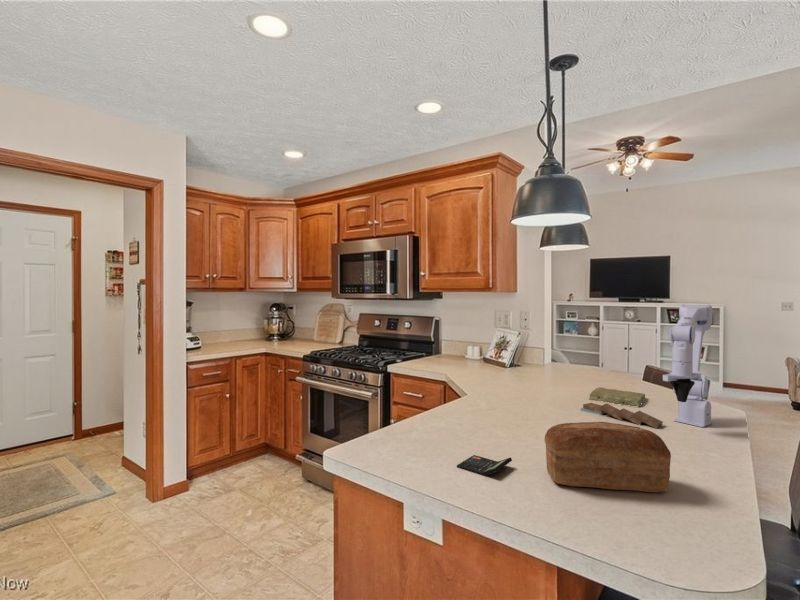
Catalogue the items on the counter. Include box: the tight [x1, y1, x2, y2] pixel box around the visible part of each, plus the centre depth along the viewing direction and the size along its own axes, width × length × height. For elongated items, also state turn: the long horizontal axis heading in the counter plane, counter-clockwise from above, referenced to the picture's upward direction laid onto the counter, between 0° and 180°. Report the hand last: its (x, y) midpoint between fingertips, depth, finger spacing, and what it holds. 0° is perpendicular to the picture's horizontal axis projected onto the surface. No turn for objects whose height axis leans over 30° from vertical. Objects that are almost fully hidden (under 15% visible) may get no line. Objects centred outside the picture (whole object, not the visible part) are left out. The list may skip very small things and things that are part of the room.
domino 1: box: [582, 402, 607, 414], centre depth 164 cm, size 2×5×8 cm
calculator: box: [456, 454, 513, 476], centre depth 111 cm, size 9×12×3 cm
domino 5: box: [633, 410, 664, 429], centre depth 148 cm, size 2×5×8 cm
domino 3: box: [600, 402, 625, 421], centre depth 157 cm, size 2×5×8 cm
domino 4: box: [617, 408, 645, 425], centre depth 152 cm, size 2×5×8 cm
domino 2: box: [579, 407, 605, 416], centre depth 164 cm, size 2×5×8 cm
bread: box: [544, 421, 672, 493], centre depth 103 cm, size 12×28×14 cm, turn 80°
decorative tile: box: [588, 387, 646, 408], centre depth 183 cm, size 19×20×4 cm
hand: (681, 401), depth 140 cm, fingers closed
